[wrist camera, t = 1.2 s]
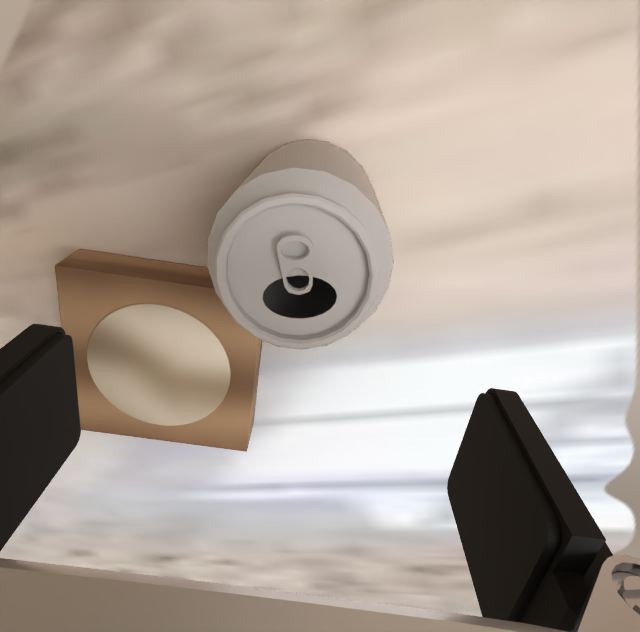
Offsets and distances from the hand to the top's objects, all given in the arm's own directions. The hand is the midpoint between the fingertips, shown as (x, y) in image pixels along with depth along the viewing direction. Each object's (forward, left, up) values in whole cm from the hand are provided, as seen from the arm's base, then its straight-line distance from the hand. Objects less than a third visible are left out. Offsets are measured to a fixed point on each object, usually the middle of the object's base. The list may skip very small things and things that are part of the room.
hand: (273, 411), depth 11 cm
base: (+11, -8, -19) cm, 24 cm away
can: (0, 0, -20) cm, 20 cm away
